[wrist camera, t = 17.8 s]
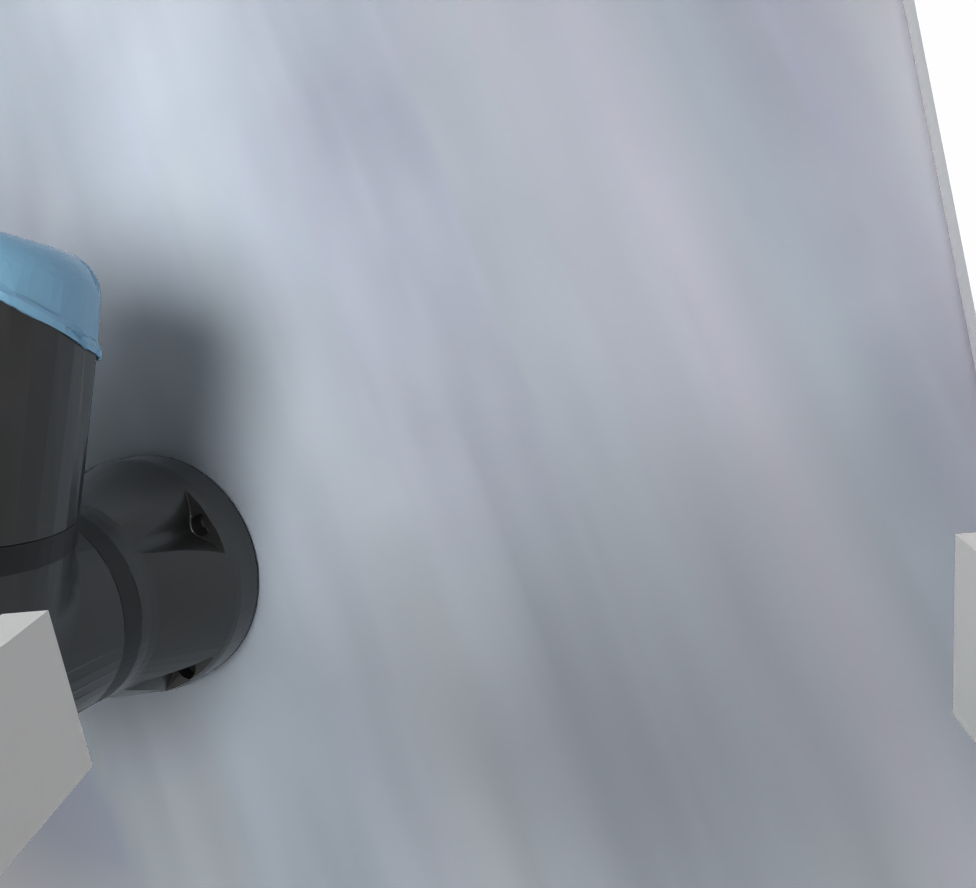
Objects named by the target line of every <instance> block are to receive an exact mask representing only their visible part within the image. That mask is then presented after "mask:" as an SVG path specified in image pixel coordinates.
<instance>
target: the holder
mask: <svg viewBox="0 0 976 888" xmlns="http://www.w3.org/2000/svg"><path fill="white" fill-rule="evenodd" d="M903 4H904V9H905V14H906V19H907V24H908V29H909V34H910V39H911V45H912V50H913V55H914V60H915V65H916V70H917V75H918V80H919V85H920V90H921V95H922V100H923V106H924V111H925V116H926V121H927V126H928V131H929V136H930V141H931V146H932V151H933V156H934V161H935V166H936V172H937V177H938V182H939V187H940V192H941V197H942V202H943V207H944V212H945V217H946V222H947V227H948V233H949V238H950V243H951V248H952V253H953V258H954V263H955V268H956V273H957V278H958V283H959V288H960V293H961V299H962V304H963V309H964V314H965V319H966V324H967V329H968V334H969V339H970V344H971V349H972V354H973V360H974V365H975V370H976V0H903Z"/></svg>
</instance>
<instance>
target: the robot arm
mask: <svg viewBox="0 0 976 888" xmlns="http://www.w3.org/2000/svg"><path fill="white" fill-rule="evenodd" d="M100 304H101V291H100V286H99V282H98V279H97V278H96V276H95V274H94V273H93V271H92V270H91V269H90V267H89V266H88V265H87V264H86V263H84V262H83V261H82V260H80V259H79V258H77V257H76V256H74V255H72V254H69V253H67V252H64V251H61V250H58V249H55V248H53V247H49V246H46V245H43V244H40V243H37V242H33V241H30V240H27V239H24V238H20V237H17V236H13V235H10V234H7V233H3V232H0V876H1V875H2V873H3V872H4V871H5V870H6V869H7V867H8V866H9V865H10V864H11V863H12V861H13V860H14V859H15V858H16V857H17V856H18V854H19V853H20V852H21V851H22V850H23V849H24V847H25V846H26V845H27V844H28V843H29V841H30V840H31V839H32V838H33V837H34V835H35V834H36V833H37V832H38V831H39V829H40V828H41V827H42V826H43V825H44V824H45V822H46V821H47V820H48V819H49V817H51V815H52V814H53V813H54V812H55V810H56V809H57V808H58V807H59V806H60V805H61V803H62V802H63V801H64V800H65V799H66V797H67V796H68V795H69V794H70V793H71V792H72V790H73V789H74V788H75V787H76V786H77V784H78V783H79V782H80V781H81V780H82V779H83V777H84V776H85V775H86V774H87V773H88V771H89V770H90V769H91V768H92V767H93V765H92V761H91V758H90V754H89V751H88V747H87V744H86V740H85V737H84V733H83V730H82V726H81V723H80V719H79V716H78V713H79V712H81V711H83V710H85V709H86V708H88V707H90V706H91V705H93V704H95V703H97V702H99V701H101V700H102V699H104V698H109V697H118V696H126V695H135V694H144V693H152V692H161V691H168V690H172V689H176V688H179V687H182V686H184V685H187V684H189V683H191V682H193V681H195V680H197V679H199V678H200V677H202V676H204V675H205V674H207V673H209V672H210V671H212V670H214V669H215V668H217V667H218V666H220V665H221V664H222V663H224V662H225V661H226V660H227V659H228V658H229V657H230V656H231V655H232V654H233V653H234V652H235V650H236V649H237V648H238V647H239V645H240V644H241V642H242V641H243V639H244V637H245V635H246V633H247V631H248V629H249V627H250V624H251V621H252V618H253V615H254V611H255V607H256V600H257V591H258V576H257V565H256V559H255V554H254V550H253V546H252V543H251V540H250V537H249V534H248V531H247V529H246V527H245V525H244V523H243V520H242V519H241V517H240V515H239V513H238V511H237V510H236V508H235V507H234V505H233V504H232V503H231V501H230V500H229V498H228V497H227V496H226V495H225V494H224V492H223V491H222V490H221V489H220V488H219V487H218V486H217V485H216V484H215V483H214V482H213V481H211V480H210V479H209V478H208V477H206V476H205V475H204V474H202V473H201V472H199V471H198V470H196V469H195V468H193V467H191V466H189V465H187V464H185V463H183V462H180V461H177V460H175V459H171V458H167V457H162V456H154V455H144V456H135V457H129V458H124V459H119V460H113V461H109V462H105V463H103V464H100V465H97V466H95V467H93V468H90V469H88V470H87V471H85V461H86V452H87V442H88V432H89V423H90V413H91V403H92V393H93V384H94V374H95V364H96V361H100V360H101V359H102V349H101V347H100V345H99V344H98V338H99V321H100ZM84 471H85V472H84ZM953 715H954V716H955V717H956V719H957V720H958V721H959V722H960V724H961V725H962V726H963V728H964V729H965V730H966V732H967V733H968V734H969V735H970V737H971V738H972V739H973V741H974V742H975V743H976V532H972V533H960V534H955V603H954V674H953Z"/></svg>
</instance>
